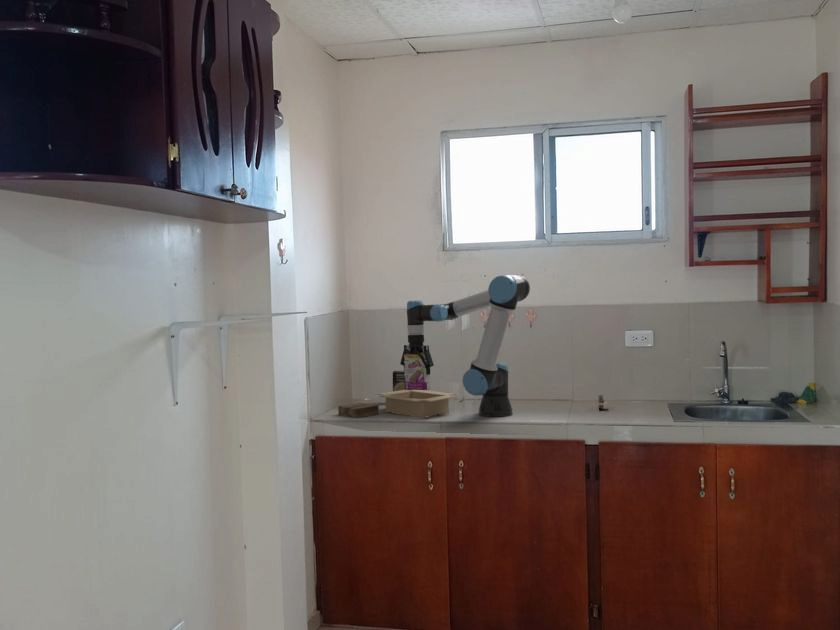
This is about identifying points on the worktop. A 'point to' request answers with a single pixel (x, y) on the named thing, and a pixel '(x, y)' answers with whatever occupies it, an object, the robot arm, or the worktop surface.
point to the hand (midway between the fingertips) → (417, 381)
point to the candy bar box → (414, 373)
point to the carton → (417, 402)
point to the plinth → (358, 410)
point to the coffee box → (398, 381)
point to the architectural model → (601, 401)
